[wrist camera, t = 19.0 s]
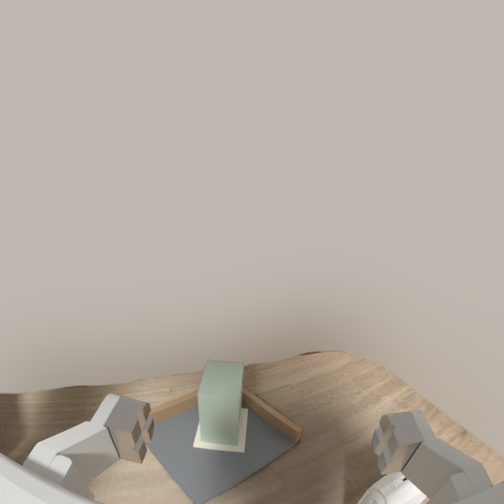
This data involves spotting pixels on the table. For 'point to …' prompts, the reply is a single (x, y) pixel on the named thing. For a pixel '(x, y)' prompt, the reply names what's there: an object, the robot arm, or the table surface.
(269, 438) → the tray
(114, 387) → the table surface
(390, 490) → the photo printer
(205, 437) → the sage block
